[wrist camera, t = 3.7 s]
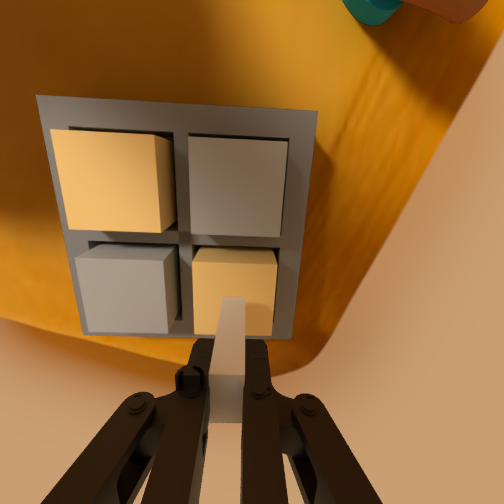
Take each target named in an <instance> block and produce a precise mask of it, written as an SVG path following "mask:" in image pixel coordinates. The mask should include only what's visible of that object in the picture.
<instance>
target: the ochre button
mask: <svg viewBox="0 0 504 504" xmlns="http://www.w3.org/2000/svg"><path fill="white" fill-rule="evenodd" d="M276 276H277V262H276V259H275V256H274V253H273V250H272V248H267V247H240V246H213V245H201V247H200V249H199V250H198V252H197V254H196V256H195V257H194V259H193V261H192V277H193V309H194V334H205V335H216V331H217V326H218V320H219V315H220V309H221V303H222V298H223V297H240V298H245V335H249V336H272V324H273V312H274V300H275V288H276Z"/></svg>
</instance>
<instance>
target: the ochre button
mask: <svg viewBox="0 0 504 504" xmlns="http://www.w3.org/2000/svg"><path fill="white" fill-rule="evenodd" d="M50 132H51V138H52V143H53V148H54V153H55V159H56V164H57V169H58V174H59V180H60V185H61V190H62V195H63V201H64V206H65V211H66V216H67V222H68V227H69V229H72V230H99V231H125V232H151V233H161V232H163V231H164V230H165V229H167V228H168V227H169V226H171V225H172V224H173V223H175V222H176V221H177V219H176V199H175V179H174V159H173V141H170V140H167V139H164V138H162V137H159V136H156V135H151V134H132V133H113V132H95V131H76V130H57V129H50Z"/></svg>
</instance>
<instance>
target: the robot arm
mask: <svg viewBox="0 0 504 504" xmlns="http://www.w3.org/2000/svg"><path fill="white" fill-rule="evenodd" d="M175 384H176V390H175V391H174V392H172V393H170V394H168V395H165V396H161V397H158V398H154V396H153V395H152V394H150V393H148V392H138V393H135V394H133V395H131V396H129V397H128V398H127V399H125V400H124V402H122V404H121V405H120V406H119V407H118V409H117V410H116V411H115V412H114V414H113V415H112V416H111V417H110V418H109V420H108V421H107V422H106V423H105V425H104V426H103V427H102V428H101V430H100V431H99V432H98V433H97V434H96V436H95V437H94V438H93V439H92V441H91V442H90V443H89V444H88V446H87V447H86V448H85V449H84V451H83V452H82V453H81V454H80V456H79V457H78V458H77V459H76V460H75V462H74V463H73V464H72V465H71V467H70V468H69V469H68V470H67V472H66V473H65V474H64V475H63V477H62V478H61V479H60V480H59V481H58V483H57V484H56V485H55V486H54V488H53V489H52V490H51V492H50V493H49V494H48V495H47V496H46V498H45V499H44V500H43V501H42V503H41V504H133V502H134V500H135V498H136V496H137V494H138V492H139V491H140V488H141V487H142V485H143V483H144V481H145V479H146V477H147V475H148V474H149V472H150V470H151V472H150V475H149V479H148V482H147V485H146V488H145V492H144V495H143V498H142V501H141V504H199V496H200V489H201V482H202V475H203V467H204V461H205V454H206V446H207V439H208V423H242V438H241V495H240V497H241V498H240V504H288V496H287V488H286V480H285V472H284V464H283V456H282V453H284V454H287V456H288V459H289V462H290V464H291V467H292V470H293V473H294V476H295V478H296V481H297V484H298V486H299V489H300V492H301V495H302V498H303V500H304V503H305V504H383V503H382V502H381V500H380V498H379V497H378V495H377V493H376V492H375V490H374V488H373V487H372V485H371V483H370V482H369V480H368V478H367V476H366V475H365V473H364V471H363V470H362V468H361V466H360V465H359V463H358V461H357V460H356V458H355V456H354V455H353V453H352V452H351V450H350V448H349V446H348V445H347V443H346V441H345V439H344V438H343V436H342V434H341V433H340V431H339V429H338V428H337V426H336V425H335V423H334V421H333V419H332V418H331V416H330V414H329V413H328V411H327V409H326V408H325V406H324V404H323V403H322V402H321V401H320V400H319V399H318V398H317V397H315V396H314V395H311V394H300V395H297V396H296V397H295V398H294V399H292V398H288V397H285V396H283V395H281V394H280V393H278V392H277V391H276V390H275V389H274V387H273V386H272V383H271V376H270V368H269V360H268V351H267V345H266V344H265V342H264V341H263V339H245V298H240V297H223V298H222V303H221V309H220V315H219V320H218V326H217V331H216V337H215V339H207V338H199V339H198V340H197V341H196V342H195V343H194V344H193V348H192V351H191V354H190V358H189V361H188V364H187V365H185V366H183V367H181V368H180V369H179V370H178V371H177V373H176V374H175ZM151 468H152V469H151Z"/></svg>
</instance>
